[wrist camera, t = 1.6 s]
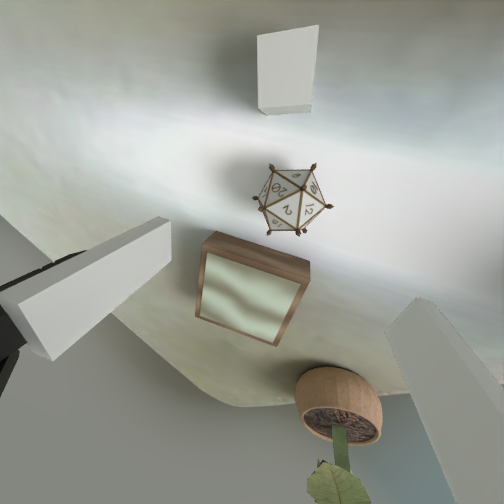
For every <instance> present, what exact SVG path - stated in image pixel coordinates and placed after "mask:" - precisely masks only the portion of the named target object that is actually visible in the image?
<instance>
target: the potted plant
mask: <svg viewBox="0 0 504 504" xmlns="http://www.w3.org/2000/svg"><path fill="white" fill-rule="evenodd" d="M295 402H296V406H297V409H298V412H299V415H300V419H301V422H302V424H303V425H304V427H305V428H306V429H308V430H309V431H310V432H311V433H313V434H314V435H316V436H318V437H320V438H323V439H325V440H327V441H331V442H333V448H334V458H335V465H332V464H329V463H328V462H326V461H324V460H322V462H321V463H320V462H319V459H318V464H317V469H316V470H315V471H314V473H313V474H312V475H311V476H310V477H309V478H308V480H307V492H308V493H309V494H310V495H311V496H312V497H313V498H314V499H315V502H317V503H318V504H371V501H370V499H369V496H368V494H367V492H366V489H365V487H364V486H363V484H362V483H361V481H360V480H359V479H358V478H356V477H355V476H354V475H353V474H352V471H351V469H350V464H349V458H348V445H353V446H359V445H368V444H371V443H374V442H375V441H377V440H378V439H379V437H380V436H381V426H382V406H381V403H380V400H379V398H378V396H377V395H376V393H375V391H374V390H373V388H372V387H371V386H370V384H369V383H368V382H366V381H365V380H364V379H363V378H362V377H360V376H358V375H357V374H355V373H353V372H350V371H347V370H345V369H341V368H336V367H318V368H314V369H311V370H308V371H307V372H305V373H304V374H303V375H302V376H301V377H300V379H299V380H298V382H297V384H296V389H295Z"/></svg>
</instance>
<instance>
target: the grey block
mask: <svg viewBox="0 0 504 504" xmlns="http://www.w3.org/2000/svg"><path fill="white" fill-rule="evenodd" d="M318 32H319V25H314V26H308V27H302V28H297V29H291V30H285V31H279V32H273V33H268V34H262V35H257V67H258V109H259V110H261V111H262V112H263V113H264V114H266V115H280V114H293V113H306V112H311V106H312V96H313V86H314V75H315V64H316V53H317V43H318Z"/></svg>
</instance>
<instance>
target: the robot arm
mask: <svg viewBox="0 0 504 504" xmlns="http://www.w3.org/2000/svg"><path fill="white" fill-rule="evenodd" d="M170 261H171V220H168V219H164V218H161V217H157V218H154V219H152V220H150V221H148V222H146V223H144V224H142V225H140V226H138V227H136V228H133V229H131V230H129V231H127V232H125V233H123V234H121V235H119V236H117V237H115V238H112V239H110V240H108V241H106V242H104V243H102V244H100V245H98V246H96V247H94V248H92V249H89V250H85V251H81V252H77V253H73V254H69V255H67V256H65V257H63V258H61V259H58V260H56V261H55V262H54V263H50V264H48V265H45V266H43V267H42V269H37V270H34V271H32V272H30V273H28V274H26V275H23V276H21V277H19V278H17V279H15V280H13V281H10V282H8V283H6V284H4V285H2V286H0V397H1V394H2V392H3V390H4V388H5V386H6V384H7V382H8V379H9V377H10V375H11V373H12V371H13V368H14V366H15V364H16V362H17V360H18V357H19V353H20V352H19V350H18V349H19V348H20V347H21V346H23V345H24V344H26V343H27V344H28V345H29V347H30V348H31V350H32V351H33V353H35V354H37V355H40V356H42V357H44V358H46V359H49V360H51V361H54V360H55V359H56V358H57V357H58V356H60V355H61V354H62V353H63V352H64V351H66V349H68V348H69V347H70V346H71V345H73V344H74V343H75V342H76V341H77V340H78V339H80V338H81V337H82V336H83V335H84V334H85V333H87V332H88V331H89V330H90V329H91V328H93V327H94V326H95V325H96V324H97V323H98V322H100V321H101V320H102V319H103V318H104V317H105V316H107V315H108V314H109V313H110V312H111V311H113V310H114V309H115V308H116V307H117V306H119V305H120V304H121V303H122V302H123V301H124V300H126V299H127V298H128V297H129V296H130V295H132V294H133V293H134V292H135V291H136V290H137V289H139V288H140V287H141V286H142V285H143V284H144V283H146V282H147V281H148V280H149V279H150V278H152V277H153V276H154V275H155V274H156V273H157V272H159V271H160V270H161V269H162V268H163V267H165V266H166V265H167V264H168V263H169V262H170ZM385 334H386V337H387V339H388V342H389V344H390V346H391V349H392V351H393V354H394V356H395V358H396V361H397V363H398V365H399V368H400V370H401V373H402V375H403V377H404V380H405V382H406V385H407V387H408V389H409V392H410V394H411V397H412V399H413V401H414V404H415V406H416V408H417V411H418V413H419V416H420V418H421V420H422V423H423V425H424V427H425V430H426V432H427V434H428V437H429V439H430V442H431V444H432V447H433V449H434V451H435V454H436V456H437V459H438V461H439V463H440V466H441V468H442V470H443V473H444V475H445V478H446V480H447V482H448V485H449V487H450V490H451V492H452V494H453V497H454V499H455V501H456V504H504V389H503V388H502V386H501V385H500V384H499V383H498V381H497V380H496V379H495V378H494V376H493V375H492V374H491V373H490V372H489V370H488V369H487V368H486V367H485V365H484V364H483V363H482V362H481V360H480V359H479V358H478V357H477V356H476V354H475V353H474V352H473V351H472V349H471V348H470V347H469V346H468V344H467V343H466V342H465V341H464V339H463V338H462V337H461V336H460V335H459V333H458V332H457V331H456V330H455V328H454V327H453V326H452V325H451V323H450V322H449V321H448V320H447V319H446V317H445V316H444V315H443V314H442V312H441V311H440V310H439V309H438V307H437V306H436V305H435V304H434V302H431V301H428V300H425V299H421V298H418V297H416V298H415V299H414V300H413V302H412V303H411V304H410V305H409V306H408V307H407V308H406V309H405V310H404V311H403V312H402V314H401V315H400V316H399V317H398V318H397V319H396V320H395V321H394V322H393V323H392V324H391V326H390V327H389V328H388V329H387V330H386V331H385Z"/></svg>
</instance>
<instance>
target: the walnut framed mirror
mask: <svg viewBox="0 0 504 504" xmlns="http://www.w3.org/2000/svg"><path fill="white" fill-rule="evenodd" d="M309 282H310V261H307V260H304V259H301V258H298V257H295V256H292V255H289V254H285V253H282V252H279V251H276V250H273V249H270V248H267V247H264V246H261V245H258V244H255V243H252V242H248V241H245V240H242V239H239V238H236V237H233V236H230V235H227V234H224V233H221V232H218V231H216V232H214V233H213V234H212V235H211V236H210V237H209V238H208V239H207V240H206V241H205V242H204V243H203V244H202V251H201V261H200V271H199V281H198V291H197V301H196V311H195V317H197V318H200V319H203V320H205V321H208V322H211V323H214V324H216V325H219V326H222V327H224V328H227V329H230V330H232V331H235V332H238V333H240V334H243V335H246V336H248V337H251V338H254V339H256V340H259V341H262V342H264V343H267V344H270V345H272V346H275V347H277V346H278V344H279V342H280V340H281V338H282V336H283V334H284V332H285V330H286V328H287V326H288V324H289V322H290V320H291V318H292V316H293V314H294V312H295V310H296V308H297V306H298V304H299V302H300V300H301V298H302V296H303V294H304V292H305V290H306V288H307V286H308V284H309Z"/></svg>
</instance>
